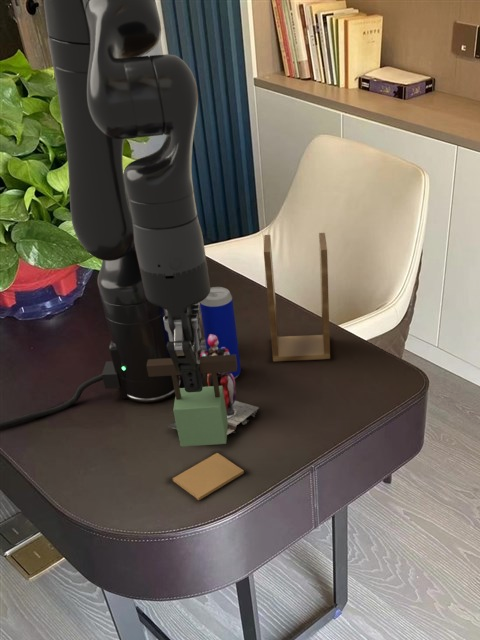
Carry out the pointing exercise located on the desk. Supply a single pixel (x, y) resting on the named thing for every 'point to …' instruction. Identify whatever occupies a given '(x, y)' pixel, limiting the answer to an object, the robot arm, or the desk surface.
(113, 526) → the desk surface
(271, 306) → the wooden frame
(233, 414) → the statue
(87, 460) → the desk surface
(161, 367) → the green block with crossbars
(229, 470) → the mat
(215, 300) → the beverage can
